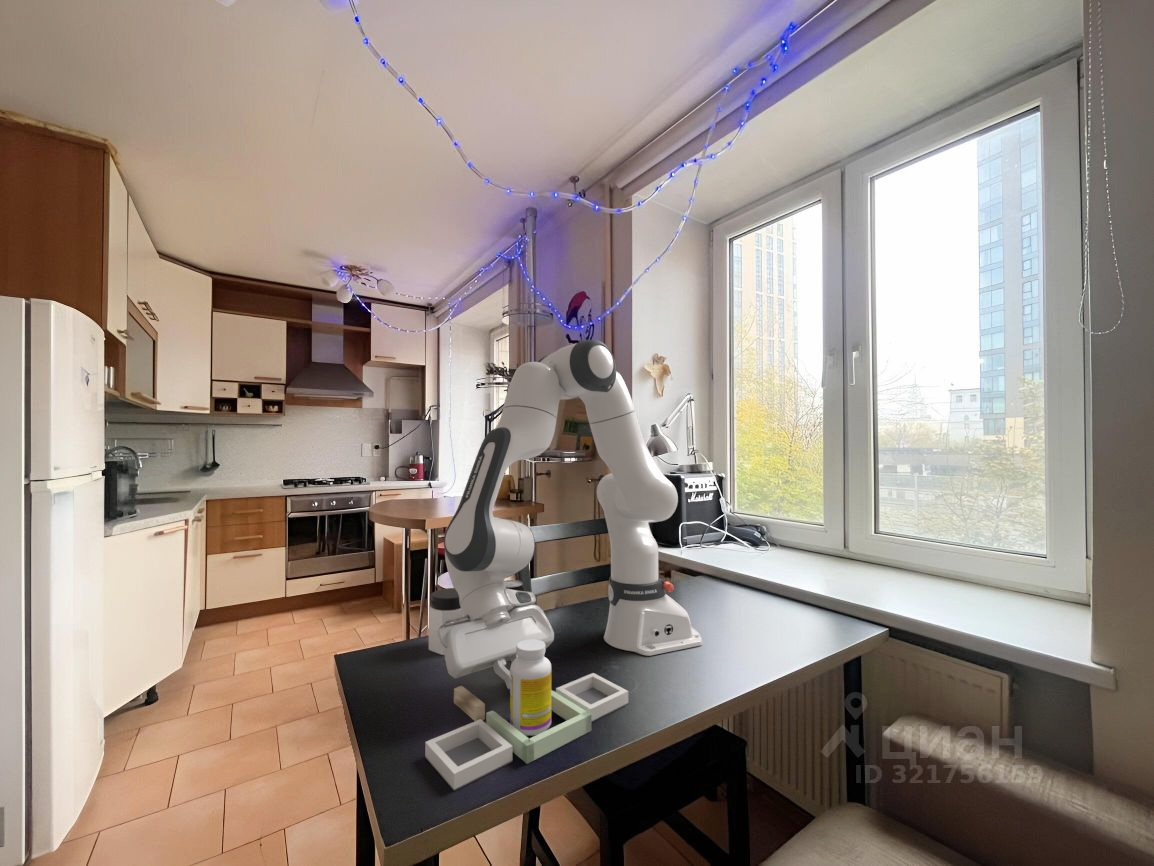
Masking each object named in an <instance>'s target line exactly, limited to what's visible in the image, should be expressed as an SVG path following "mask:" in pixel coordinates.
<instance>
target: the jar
mask: <svg viewBox="0 0 1154 866" xmlns="http://www.w3.org/2000/svg"><path fill="white" fill-rule="evenodd" d="M460 617H464V615H463V613H462V610H461V607H460V603H459V595H458V593H457V591H456V590H455V589H454V587H448V588H441V589H438V590H435V591H433V592H432V593H431V595H430V606H429V607H428V650H429V651H430V652H433V653H436V654H438V655H440V656H445V655H444V646H442V644H441V643H440V639H439V636H438V630H439V627H440V626H441V625H443V623H444V622H445V621H448V620H454V619H457V618H460ZM443 628H444V627H443Z"/></svg>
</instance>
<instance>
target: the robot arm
mask: <svg viewBox="0 0 1154 866" xmlns="http://www.w3.org/2000/svg"><path fill="white" fill-rule="evenodd" d="M574 398H575V399H576V398H579V399H580V400H581V401H582V403H583V405H585V411H586V417H587V419H588V423H589V427H590V428H589V429H590V431H591V434H592V438H593V441H594V444H595V447H596V451H597V454H598V456H599V457H600V459H601V460H602V461H603V462H604V463H605V465H606V466H607V467H608V469H609V471H610V473H608V474H606V475H604V476H603V477H601V479H600V480H599V482H598V484H597V486H596V497H597V501H598V503H599V504H600V506H601V507H602V510H603V514H604V518H605V523H606V526H607V527H606V528H607V531H608V532H607V533H608V537H609V543H610V545H609V546H610V576H609V579H608V601H609V609H608V610H609V611H608V617H607V624H606V629H605V632H604V635H603V640H604V642H606V643H607V644H608V645H609V646H611V647H613V648H616V649H619V650H624V651H628V652H634V653H636V654H639V655H642V656H646V657H648V656H649V657H650V656H655V655H659V654H664V653H669V652H675V651H679V650H684V649H690V648H695V647H699V646H702V645H703V638H702V636H701V634H700V633H699V632H698V631H697V630H696V629H695V628H694V627H692V622H691V619H690V618H691V617H690V615H689V614H688V613H689V612H687V610H686V609H685V608H684V607H682V606H681V605H680V604H679V603H678V602H676V600H674V599H673V598H672V597H670V596H669V595H668V594H667V593H672V592H673V591H674V588H675V586H674V585H673V583H670V581H665V580H664V579H663V578H660V577H659V545H658V542H657V541H656V539H655V538H654V536H653V533H652V530H651V528H650V525H649V523H658V522H663V521H667V520H668V519H670V518H671V517H672V516H673V514H674V513H675V512H676V509H677V507H678V503H679V496H678V492H677V488H676V487H675V485H674V484H673V483H672V481H670V479H668V478H667V477H666V476H665V475H664V473H663V472H662V471H661V469H660V467H659V466H658V464H657V463H656V461H655V459H654V458H653V455H652V454H651V452H650V450H649V448H648V446H647V444H646V440H645V439H644V436H643V433H642V430H641V426H640V422H639V419H638V416H637V412H636V408H635V405H634V402H633V399H632V397H631V394H630V392H629V389H628V387H627V385H626V382H625V380H624V379H623V377H622V375H621V373H620V372H618V371H617V365H616V360H615V357H614V354H613V353H612V351H611V349H610V348H609V347H608V346H607V345H606V344H605V343H604V342H602V341H601V340H597V339H585V340H581V341H579V342H576V343H573V344H570V345H566V346H563V347H560V348H559V349H557V350H556V351H553V352H552V353H550V354H549V355H545V356H543V357H541V358H540V359H539V360H538V361H530V362H525V363H522V364H521V365H519V366H518V367H517V368H516V370H515V371H514V374H513V376H512V379H511V381H510V382H509V386H508V389H507V391H506V396H505V399H504V403H503V406H502V411H501V415H500V418H499V421H498V423H497V425H496V427H495V428H493V429H491V430H490V431H489V432H488V433H487V434H486V435H485V436H484V439H483V440H482V442H481V444H480V447H479V449H478V451H477V455H476V457H475V460H474V463H473V466H472V468H471V471H470V474H469V476H468V479H467V483H466V485H465V487H464V491H463V493H462V496H461V498H460V501H459V504H458V507H457V509H456V510H455V512H454V514H453V517H452V519H451V520H450V521H449V524H448V526H447V528H446V529H445V532H444V537H443V548H444V557H445V559H444V561H445V564H446V569H447V573H448V576H449V579H450V582H451V585H452V586H453V587H452V588H454V589H455V590H456V591H457V593H458V595H459V603H460V607H461V610H462V613H463V615H464V617H460V618H457V619H454V620H448V621H445V622H444V623H443V625H441V626H440V627H439V630H438V636H439V639H440V643H441V644H442V646H444V655H443V656H444V660H445V665H446V669H447V672H448V675H450V676H451V677H452V678H454V679H459V678H461V677H464V676H467V675H470V674H474V673H477V672H480V671H482V670H486V669H488V668H491V667H493V671H494V673H495V674H496V675H497V676H498V677H499V678H501V679H502V680H503V681H504V683H505V685H506V688H507V690H510V669H508V668H507V667H506V665H507V662H510V661H511V663H512V662H513V661H514V660H515V659H516V658H518V656H517V653H516V647H517V644H518V643H519V642H520V641H523V640H528V639H536V640H541V641H543V642H544V643H545V649H547V648H549V647H550V645H551V644H552V643H553V642H554V640H555V632H554V629H553V627H552V624H551V623H550V621H549V619H548V617H547V615H546V613H545V612H544V610H543V609H542V608H541V607H540V606H539V605H537V604H535V603H536V602H537V597H536V596H535V594H534V593H533V592H532V591H525V590H524V591H517V590H512V589H506V587H505V585H504V581H505V580H506V579H507V578H511V577H513V576H514V575H516V574H517V573H519V572H521V571H522V570H524V569H525V568H527V566H528V565H529V564H531V562H532V560H533V557H534V554H535V551H536V540H535V536H534V533H533V531H532V530H531V528H530V527H529V526H528V525H527V524H524V523H523V522H519V521H516V520H511V519H507V518H500V517H496V516H494V514H493V513H494V507H495V505H496V500H497V498H498V495H499V492H500V489H501V485H502V482H503V480H504V476H505V474H506V472H507V470H508V469H509V467H510V466H512V464H514V463H516V462H519V461H523V460H524V461H525V460H527V459H532V458H533V459H534V458H536V457H538V456H540V455H541V454H543V453H544V452H546V450H548V448H549V447H550V446H551V443H552V441H553V439H554V435H555V431H556V426H557V420H558V419H557V418H558V414H559V413H558V412H559V404H560V401H563V400H571V399H574ZM666 592H667V593H666ZM443 627H444V628H443Z"/></svg>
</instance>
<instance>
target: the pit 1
mask: <svg viewBox="0 0 1154 866" xmlns="http://www.w3.org/2000/svg"><path fill="white" fill-rule="evenodd" d="M424 743H425V745H424V746H425V747H424V748H425V752H424V755H425V756H424V758H425V759H426V760H427V762H428V763H429V764H430V765H431V767H433V768H434V770H436V772H437V773H438V774H439V776H440V777H441V778H442V779H443V780H444V781H445V783H447V784H448V786H449V787H450V788H451V789H452V791H454V792H455V791H457V790H459V789H461V788H463V787H465V786H467V785H469V784H471V783H472V782H473V783H474V782H475V781H477V780H479V779H482V778H483V777H485V776H487V775H490V774H491V773H493V772H496V771H497V770H499V769H501V768H503V767H505V766H507V765H509V764H511V763H513V753H514V752H513V746H512V745H511V744H510V743H508V742H507V741H506V740H505V739H504V738H502V737H501V736H500V735H499V734H498V733H497V732H495V731H494V730H493V729H492V728H491V727H489V726H488V725H487V724H486V721H484V720H481V719H480V720H477V721H474V722H473V721H472V722H470V723H468V724H466V725H463V726H460V727H458V728H456V729H453V730H451V731H449V732H446V733H443V734H441V735H439V736H436V737H434V738H431V739H429V740H427V741H425V742H424Z"/></svg>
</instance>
